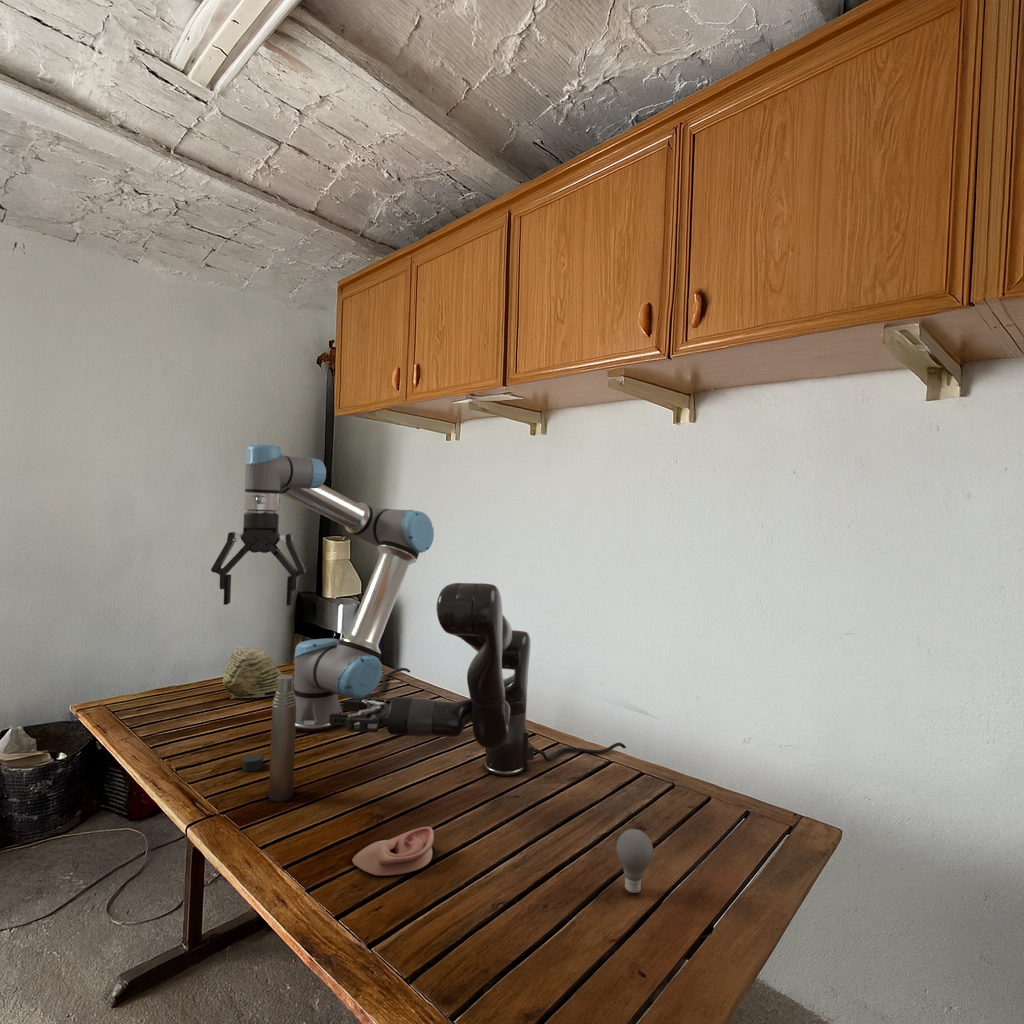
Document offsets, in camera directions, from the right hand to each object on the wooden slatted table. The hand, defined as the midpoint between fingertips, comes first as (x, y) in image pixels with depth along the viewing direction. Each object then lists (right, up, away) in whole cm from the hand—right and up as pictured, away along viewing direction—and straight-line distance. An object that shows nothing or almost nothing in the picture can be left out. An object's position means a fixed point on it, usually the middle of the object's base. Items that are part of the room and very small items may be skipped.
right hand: (336, 711), depth 132 cm
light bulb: (+57, -22, -27) cm, 66 cm away
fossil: (-44, -15, +66) cm, 81 cm away
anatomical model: (+16, -20, -20) cm, 32 cm away
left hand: (-22, +21, +13) cm, 33 cm away
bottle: (-12, -18, +1) cm, 22 cm away
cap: (-23, -15, +14) cm, 31 cm away
